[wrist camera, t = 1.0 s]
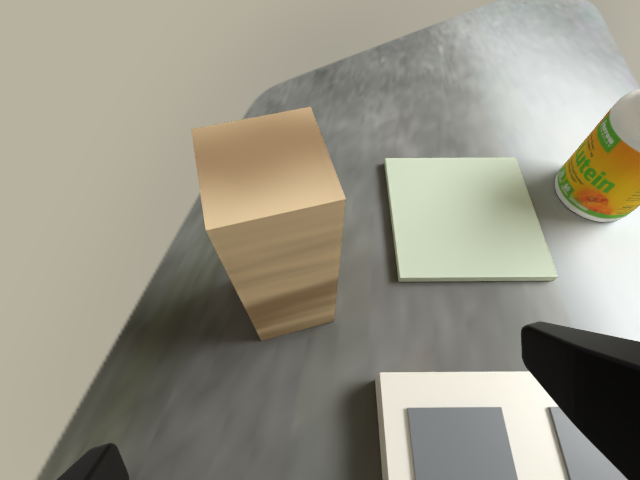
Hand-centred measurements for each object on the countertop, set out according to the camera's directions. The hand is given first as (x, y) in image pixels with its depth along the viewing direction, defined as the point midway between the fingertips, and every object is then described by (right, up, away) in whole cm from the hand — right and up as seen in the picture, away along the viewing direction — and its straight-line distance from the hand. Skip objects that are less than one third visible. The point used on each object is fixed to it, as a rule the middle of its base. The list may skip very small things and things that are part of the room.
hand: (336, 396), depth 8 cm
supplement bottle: (+20, +7, +20) cm, 29 cm away
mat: (+10, +5, +19) cm, 22 cm away
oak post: (-2, 0, +16) cm, 16 cm away
